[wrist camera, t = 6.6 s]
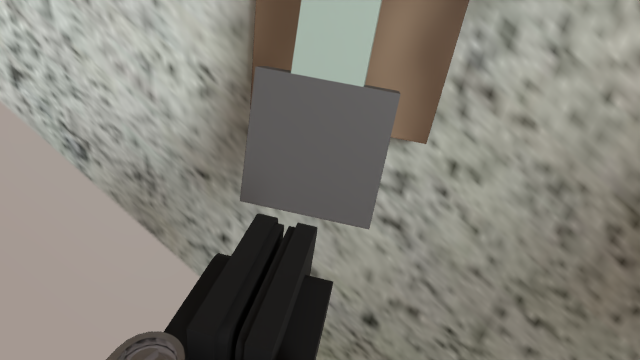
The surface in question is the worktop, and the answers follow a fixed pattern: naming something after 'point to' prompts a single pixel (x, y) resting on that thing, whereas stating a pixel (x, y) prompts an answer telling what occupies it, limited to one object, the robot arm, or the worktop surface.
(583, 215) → the worktop surface
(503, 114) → the worktop surface
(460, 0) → the press base
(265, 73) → the press lever
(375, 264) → the worktop surface
